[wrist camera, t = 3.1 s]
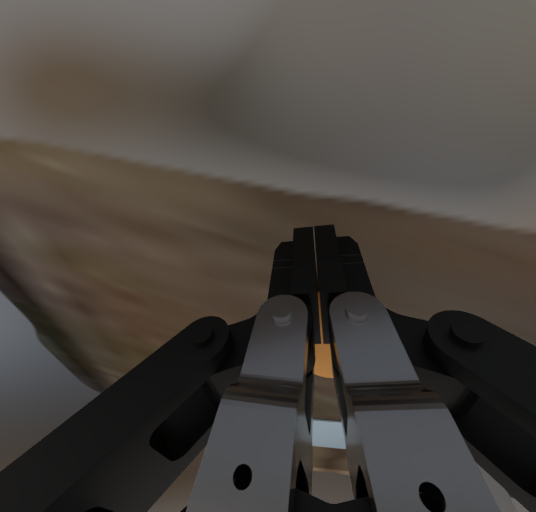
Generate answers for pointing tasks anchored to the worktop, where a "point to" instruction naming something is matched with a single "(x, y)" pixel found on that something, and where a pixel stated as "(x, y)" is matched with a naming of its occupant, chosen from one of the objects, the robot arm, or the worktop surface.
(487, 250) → the worktop surface
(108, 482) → the robot arm
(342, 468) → the backstop strip
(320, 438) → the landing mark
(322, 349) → the ball
